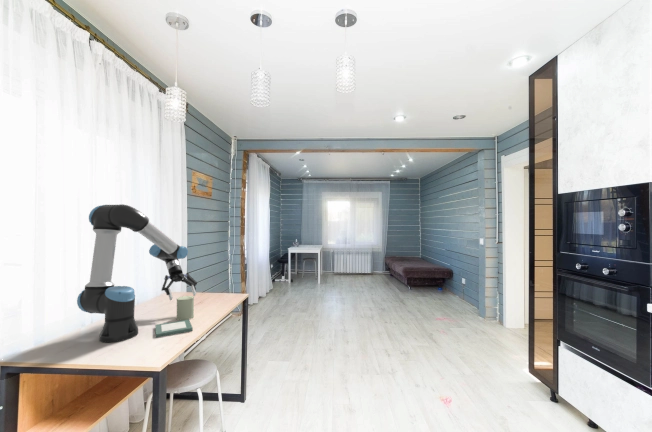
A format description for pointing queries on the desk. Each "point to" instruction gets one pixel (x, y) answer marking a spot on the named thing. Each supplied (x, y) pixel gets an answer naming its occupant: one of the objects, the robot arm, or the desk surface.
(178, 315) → the can
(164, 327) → the board
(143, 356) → the desk surface
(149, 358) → the desk surface
